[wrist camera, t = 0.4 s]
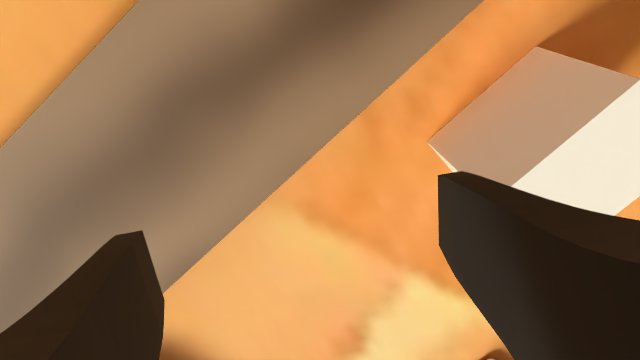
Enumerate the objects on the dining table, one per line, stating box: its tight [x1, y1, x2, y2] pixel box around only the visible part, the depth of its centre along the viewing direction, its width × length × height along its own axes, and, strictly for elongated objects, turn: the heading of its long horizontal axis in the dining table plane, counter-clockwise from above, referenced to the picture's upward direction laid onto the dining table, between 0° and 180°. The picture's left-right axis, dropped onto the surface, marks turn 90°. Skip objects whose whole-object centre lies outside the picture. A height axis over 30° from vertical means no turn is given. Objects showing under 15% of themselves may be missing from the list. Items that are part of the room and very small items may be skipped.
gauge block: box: [427, 46, 640, 216], centre depth 20 cm, size 4×6×6 cm, turn 132°
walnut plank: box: [0, 0, 484, 333], centre depth 19 cm, size 8×30×2 cm, turn 132°
